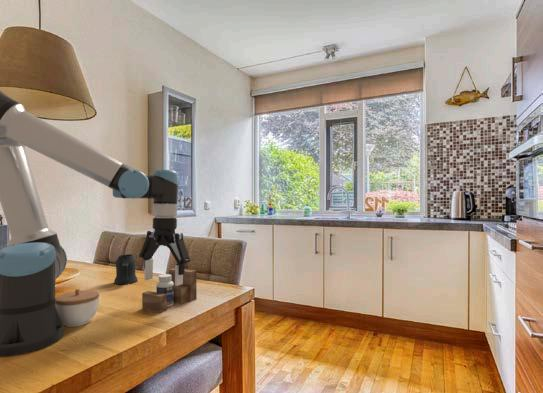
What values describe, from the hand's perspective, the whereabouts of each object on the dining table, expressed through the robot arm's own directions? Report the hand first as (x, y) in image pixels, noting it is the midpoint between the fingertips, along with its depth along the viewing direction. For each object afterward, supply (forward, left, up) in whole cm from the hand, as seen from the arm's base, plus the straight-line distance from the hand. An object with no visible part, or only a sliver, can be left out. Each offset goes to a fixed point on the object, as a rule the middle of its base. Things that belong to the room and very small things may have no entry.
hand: (163, 282), depth 103 cm
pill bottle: (0, 0, -8) cm, 8 cm away
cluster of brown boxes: (+2, 0, -8) cm, 8 cm away
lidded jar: (-22, +11, -8) cm, 25 cm away
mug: (+13, +36, -8) cm, 39 cm away
